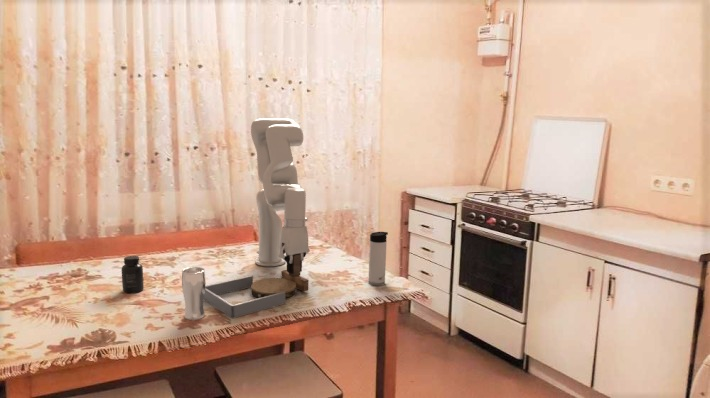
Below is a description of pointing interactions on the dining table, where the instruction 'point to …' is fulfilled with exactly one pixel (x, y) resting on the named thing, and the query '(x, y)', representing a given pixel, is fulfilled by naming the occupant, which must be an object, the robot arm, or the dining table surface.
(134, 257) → the supplement bottle
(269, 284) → the wood log slice
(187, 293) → the beer glass
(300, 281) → the wooden t-shaped block
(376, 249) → the travel mug
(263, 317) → the dining table surface
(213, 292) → the box
